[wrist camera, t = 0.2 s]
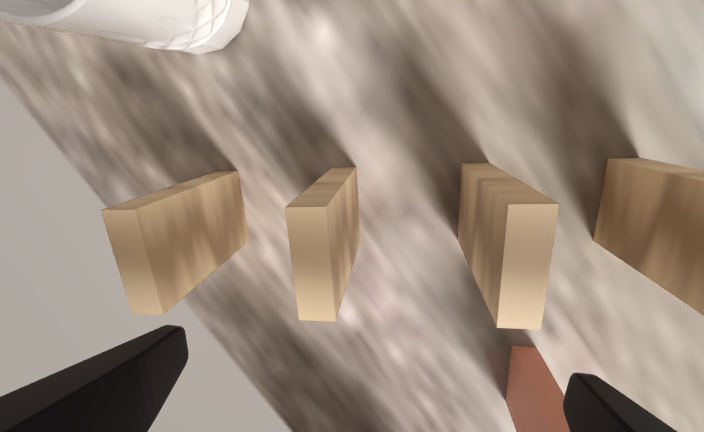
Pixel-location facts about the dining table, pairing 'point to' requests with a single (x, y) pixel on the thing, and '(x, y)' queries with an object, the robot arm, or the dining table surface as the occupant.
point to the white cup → (136, 20)
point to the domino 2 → (324, 242)
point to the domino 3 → (507, 243)
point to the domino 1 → (175, 238)
